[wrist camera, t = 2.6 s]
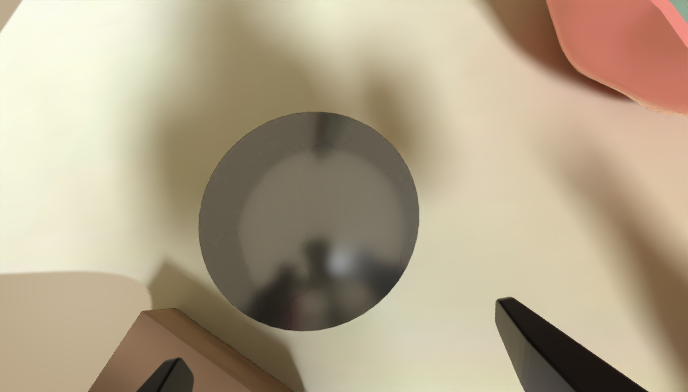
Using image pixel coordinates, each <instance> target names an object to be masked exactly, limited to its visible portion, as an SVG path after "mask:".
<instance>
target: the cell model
mask: <svg viewBox="0 0 688 392" xmlns="http://www.w3.org/2000/svg"><path fill="white" fill-rule="evenodd" d="M546 3H547V6H548V9H549V12H550V15H551V18H552V22H553V25H554V28H555V32H556V35H557V38H558V41H559V44H560V46H561V48H562V51H563V52H564V54H565V56H566V57H567V59H568V61H569V62H570V63H571V65H572V66H573V67H574V69H575V70H576V71H578V72H579V73H581V74H582V75H584V76H585V77H588V78H590V79H593V80H595V81H597V82H599V83H601V84H603V85H605V86H607V87H609V88H612V89H614V90H616V91H618V92H620V93H622V94H623V95H625V96H627V97H628V98H630V99H632V100H634V101H635V102H637V103H639V104H640V105H642V106H644V107H645V108H647V109H650V110H653V111H655V112H659V113H664V114H679V115H685V116H688V0H546Z"/></svg>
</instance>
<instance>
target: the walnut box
mask: <svg viewBox="0 0 688 392" xmlns="http://www.w3.org/2000/svg"><path fill="white" fill-rule="evenodd" d="M176 357H181V358H182V359H183V360H184V361H185V363H186V364H187V365H188V367H189V368H190V370H191V371H192V373H193V375H194V385H193V391H192V392H293V391H292V390H290V389H289V388H287V387H286V386H285V385H283V384H282V383H280V382H279V381H278V380H276V379H275V378H273V377H272V376H270V375H269V374H268V373H266V372H265V371H263V370H262V369H261V368H259V367H258V366H256V365H255V364H254V363H252V362H251V361H249V360H248V359H246V358H245V357H244V356H242V355H241V354H239V353H238V352H237V351H235V350H234V349H232V348H231V347H230V346H228V345H227V344H225V343H224V342H222V341H221V340H220V339H218V338H217V337H215V336H214V335H213V334H211V333H210V332H208V331H207V330H206V329H204V328H203V327H201V326H200V325H198V324H197V323H196V322H194V321H193V320H191V319H190V318H189V317H187V316H186V315H184V314H183V313H181V312H180V311H179V310H177V309H176V308H172V309H160V310H149V311H142V312H141V313H140V315H139V316H138V318H137V319H136V321H135V323H134V324H133V325H132V327H131V328H130V330H129V331H128V333H127V334H126V336H125V337H124V339H123V341H122V342H121V343H120V345H119V346H118V348H117V349H116V351H115V352H114V354H113V355H112V357H111V359H110V360H109V361H108V363H107V364H106V366H105V367H104V369H103V370H102V372H101V373H100V375H99V376H98V378H97V379H96V381H95V382H94V384H93V386H92V387H91V389H90V390H89V391H88V392H136V391H137V390H138V389H139V388H140V387H141V385H142V384H143V383H144V382H145V381H146V380H147V379H148V378H149V377H150V376H151V375H152V374H153V373H154V371H155V370H156V369H157V368H158V367H159V366H160V365H161V364H162V363H163V362H164V361H165V360H167V359H171V358H176Z"/></svg>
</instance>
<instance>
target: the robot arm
mask: <svg viewBox="0 0 688 392" xmlns="http://www.w3.org/2000/svg"><path fill="white" fill-rule="evenodd" d="M495 322H496V326H497V329H498V331H499V333H500V336H501V338H502V341H503V343H504V345H505V348H506V350H507V352H508V355H509V357H510V359H511V362H512V364H513V367H514V369H515V371H516V374H517V376H518V378H519V380H520V383H521V385H522V387H523V389H524V391H525V392H648V391H647V390H645V389H644V388H642V387H641V386H639V385H638V384H637V383H635V382H634V381H632V380H631V379H629V378H628V377H626V376H625V375H624V374H622V373H621V372H619V371H618V370H616V369H615V368H614V367H612V366H611V365H609V364H608V363H606V362H605V361H604V360H602V359H601V358H599V357H598V356H596V355H595V354H593V353H592V352H591V351H589V350H588V349H586V348H585V347H583V346H582V345H581V344H579V343H578V342H576V341H575V340H573V339H572V338H571V337H569V336H568V335H566V334H565V333H563V332H562V331H560V330H559V329H558V328H556V327H555V326H553V325H552V324H550V323H549V322H548V321H546V320H545V319H543V318H542V317H540V316H539V315H538V314H536V313H535V312H533V311H532V310H530V309H529V308H527V307H526V306H525V305H523V304H522V303H520V302H519V301H517V300H516V299H515V298H512V297H506V298H500V299H497V300H496V306H495ZM193 385H194V375H193V373H192V371H191V370H190V368H189V367H188V365H187V364H186V363H185V361H184V360H183V359H182V358H181V357H176V358H171V359H167V360H165V361H164V362H163V363H162V364H161V365H160V366H159V367H158V368H157V369H156V370H155V371H154V373H153V374H152V375H151V376H150V377H149V378H148V379H147V380H146V381H145V382H144V383H143V384H142V385H141V387H140V388H139V389H138V390H137V391H136V392H192V391H193Z"/></svg>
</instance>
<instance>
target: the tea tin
mask: <svg viewBox="0 0 688 392" xmlns="http://www.w3.org/2000/svg"><path fill="white" fill-rule="evenodd" d="M418 227H419V204H418V197H417V192H416V188H415V185H414V181H413V178H412V176H411V174H410V171H409V169H408V167H407V165H406V164H405V162H404V160H403V159H402V157H401V155H400V154H399V153H398V152H397V150H396V149H395V148H394V147H393V146H392V144H391V143H390V142H388V141H387V140H386V139H385V138H384V137H383V136H382V135H381V134H379V133H378V132H377V131H375V130H374V129H372V128H371V127H369V126H367V125H365V124H363V123H362V122H360V121H357V120H355V119H352V118H349V117H347V116H342V115H338V114H334V113H326V112H304V113H296V114H291V115H287V116H283V117H280V118H277V119H275V120H272V121H269V122H267V123H265V124H263V125H261V126H259V127H257V128H256V129H254V130H253V131H251V132H250V133H248V134H247V135H245V136H244V137H243V138H242V139H241V140H239V141H238V142H237V143H236V144H235V145H234V146H233V147H232V148H231V149H230V150H229V151H228V152H227V153H226V155H225V156H224V157H223V159H222V160H221V161H220V162H219V164H218V166H217V167H216V169H215V171H214V172H213V174H212V176H211V178H210V180H209V182H208V185H207V187H206V190H205V193H204V196H203V199H202V203H201V209H200V214H199V240H200V246H201V251H202V256H203V259H204V262H205V264H206V267H207V270H208V272H209V274H210V276H211V278H212V280H213V282H214V283H215V284H216V286H217V287H218V289H219V290H220V292H221V293H222V294H223V295H224V296H225V297H226V298H227V299H228V301H229V302H230V303H231V304H232V305H234V306H235V307H236V308H237V309H239V310H240V311H241V312H243V313H244V314H246V315H247V316H249V317H251V318H253V319H254V320H256V321H258V322H261V323H263V324H266V325H268V326H271V327H275V328H280V329H284V330H292V331H314V330H322V329H326V328H331V327H335V326H338V325H341V324H343V323H346V322H349V321H351V320H353V319H355V318H357V317H358V316H360V315H362V314H364V313H365V312H367V311H368V310H370V309H371V308H372V307H374V306H375V305H377V304H378V303H379V302H380V301H381V300H382V299H383V298H384V297H385V296H386V295H387V294H388V293H389V292H390V291H391V289H392V288H393V287H394V286H395V284H396V283H397V282H398V281H399V279H400V277H401V276H402V274H403V272H404V271H405V269H406V267H407V265H408V263H409V260H410V258H411V256H412V254H413V250H414V247H415V243H416V240H417V234H418Z"/></svg>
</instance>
